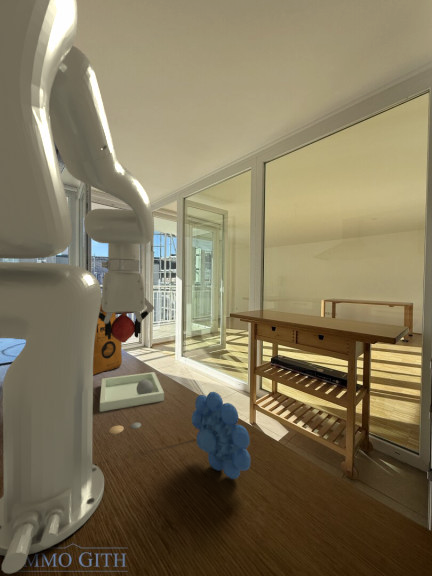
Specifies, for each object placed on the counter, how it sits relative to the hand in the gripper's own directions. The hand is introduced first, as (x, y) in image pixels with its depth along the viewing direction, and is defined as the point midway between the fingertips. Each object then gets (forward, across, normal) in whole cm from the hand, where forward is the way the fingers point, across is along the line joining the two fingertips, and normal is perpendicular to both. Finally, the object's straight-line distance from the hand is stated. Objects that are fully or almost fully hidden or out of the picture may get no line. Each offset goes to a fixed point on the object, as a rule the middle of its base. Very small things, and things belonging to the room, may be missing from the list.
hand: (123, 336), depth 63 cm
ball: (+14, +5, -5) cm, 16 cm away
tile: (+15, 0, -17) cm, 23 cm away
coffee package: (+15, -6, +19) cm, 25 cm away
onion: (+2, 0, 0) cm, 2 cm away
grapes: (+15, +12, -33) cm, 38 cm away
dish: (+15, +2, -2) cm, 15 cm away
